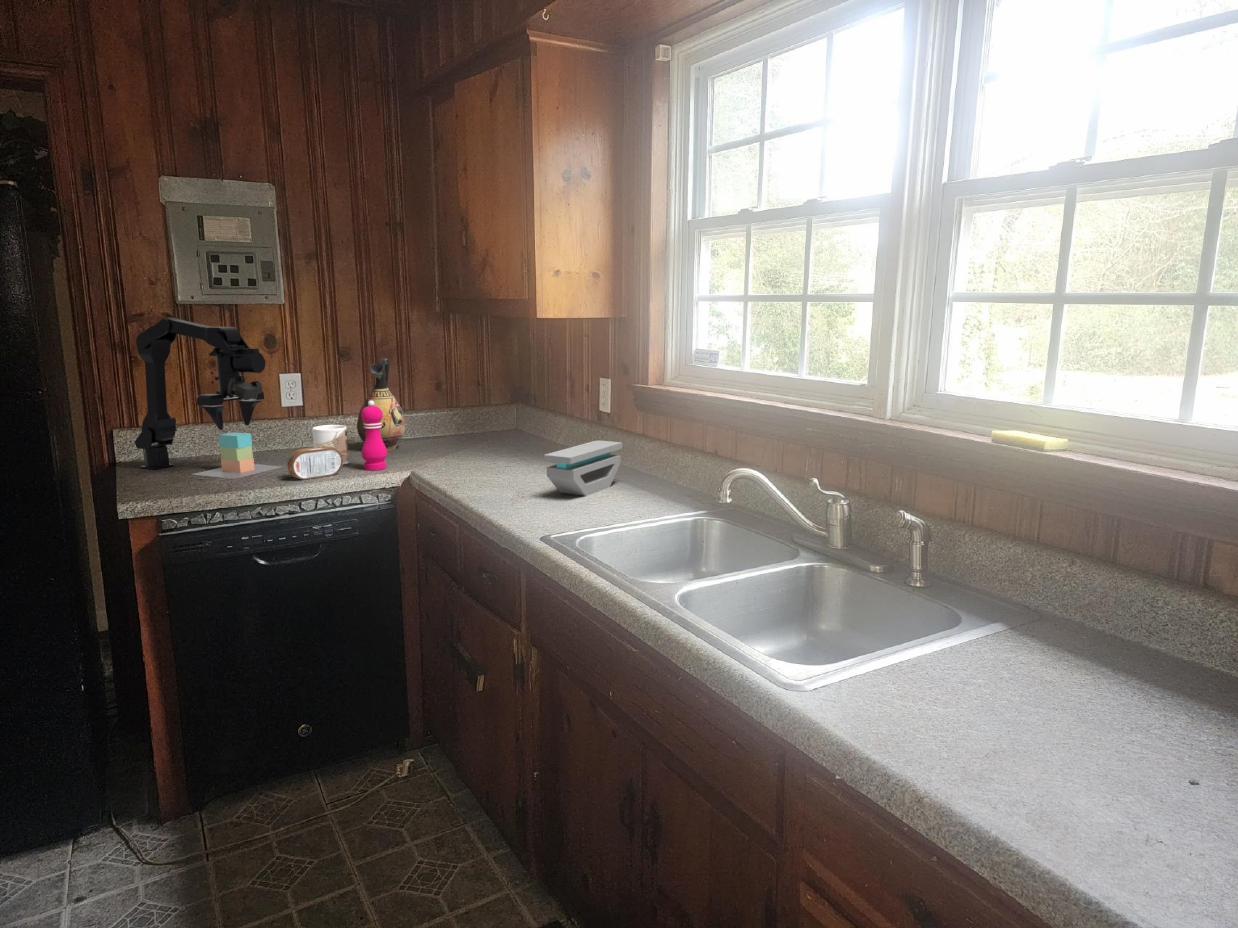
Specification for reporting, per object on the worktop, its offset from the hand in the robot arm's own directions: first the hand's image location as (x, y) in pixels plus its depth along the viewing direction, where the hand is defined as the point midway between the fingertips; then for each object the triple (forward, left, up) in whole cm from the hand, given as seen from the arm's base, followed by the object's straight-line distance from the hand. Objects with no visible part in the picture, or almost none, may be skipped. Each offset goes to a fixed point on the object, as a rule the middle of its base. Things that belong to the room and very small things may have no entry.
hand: (234, 427), depth 229 cm
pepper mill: (+33, +19, -13) cm, 40 cm away
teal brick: (0, 0, -5) cm, 5 cm away
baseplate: (0, 0, -13) cm, 13 cm away
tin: (+26, +3, -13) cm, 29 cm away
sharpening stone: (+102, +16, -13) cm, 104 cm away
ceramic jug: (+14, +47, -13) cm, 51 cm away
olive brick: (0, 0, -9) cm, 9 cm away
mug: (+15, +22, -13) cm, 30 cm away
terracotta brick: (0, 0, -12) cm, 12 cm away
